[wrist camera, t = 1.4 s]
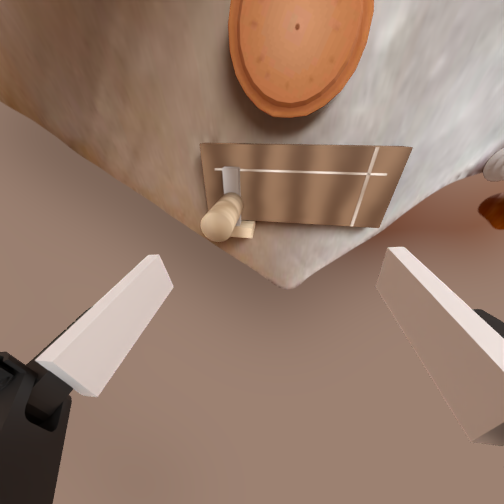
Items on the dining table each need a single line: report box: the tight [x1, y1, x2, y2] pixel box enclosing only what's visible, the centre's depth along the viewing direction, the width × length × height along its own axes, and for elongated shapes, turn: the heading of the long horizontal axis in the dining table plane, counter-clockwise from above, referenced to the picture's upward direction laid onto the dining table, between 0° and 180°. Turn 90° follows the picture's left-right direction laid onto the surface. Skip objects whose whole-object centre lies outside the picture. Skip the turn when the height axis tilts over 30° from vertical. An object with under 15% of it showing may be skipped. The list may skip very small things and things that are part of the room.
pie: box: [228, 0, 374, 118], centre depth 21 cm, size 15×16×5 cm
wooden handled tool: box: [201, 167, 255, 242], centre depth 29 cm, size 7×11×14 cm, turn 179°
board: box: [200, 143, 413, 228], centre depth 31 cm, size 30×12×3 cm, turn 89°
